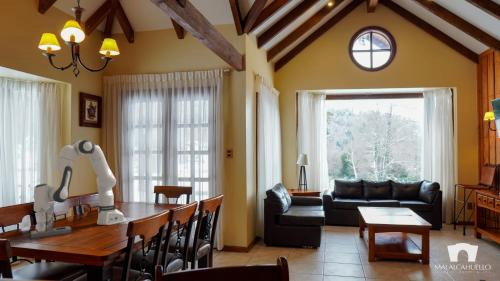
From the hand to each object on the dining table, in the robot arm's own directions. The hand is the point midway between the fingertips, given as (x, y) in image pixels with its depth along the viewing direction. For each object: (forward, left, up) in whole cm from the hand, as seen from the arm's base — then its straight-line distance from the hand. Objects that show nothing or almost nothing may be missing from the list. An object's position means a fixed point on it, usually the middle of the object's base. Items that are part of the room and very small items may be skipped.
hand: (41, 227), depth 244 cm
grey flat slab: (-6, 0, -6) cm, 8 cm away
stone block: (-5, -20, -6) cm, 21 cm away
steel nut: (0, 0, -4) cm, 4 cm away
